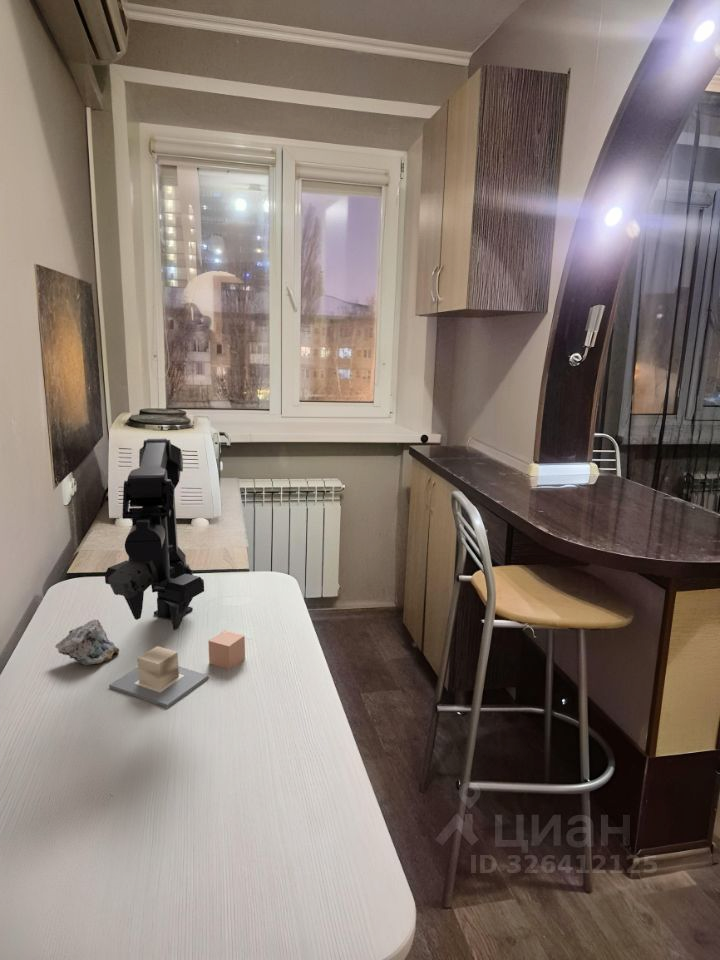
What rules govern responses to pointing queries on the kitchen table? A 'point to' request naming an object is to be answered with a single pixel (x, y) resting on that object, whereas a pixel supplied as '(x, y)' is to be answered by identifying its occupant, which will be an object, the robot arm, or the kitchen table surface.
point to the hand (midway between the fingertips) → (156, 624)
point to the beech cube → (158, 667)
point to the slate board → (166, 693)
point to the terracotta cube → (226, 649)
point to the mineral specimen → (88, 644)
